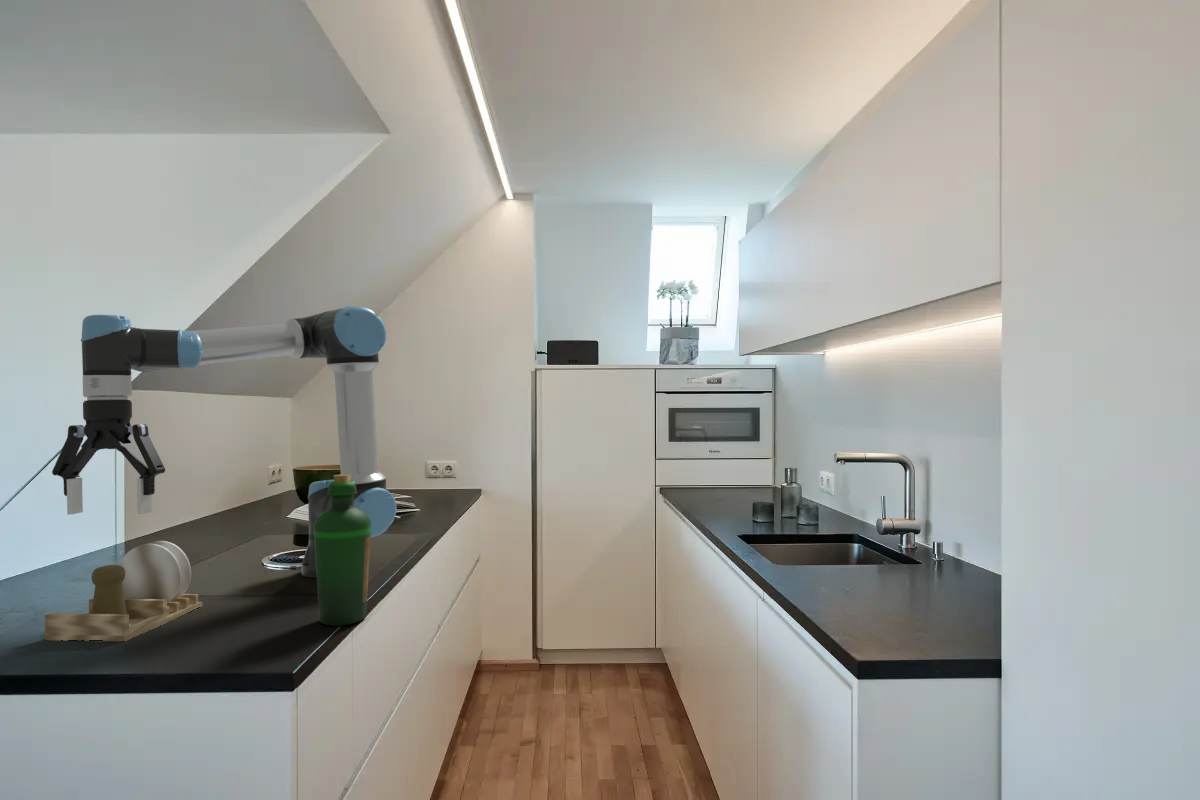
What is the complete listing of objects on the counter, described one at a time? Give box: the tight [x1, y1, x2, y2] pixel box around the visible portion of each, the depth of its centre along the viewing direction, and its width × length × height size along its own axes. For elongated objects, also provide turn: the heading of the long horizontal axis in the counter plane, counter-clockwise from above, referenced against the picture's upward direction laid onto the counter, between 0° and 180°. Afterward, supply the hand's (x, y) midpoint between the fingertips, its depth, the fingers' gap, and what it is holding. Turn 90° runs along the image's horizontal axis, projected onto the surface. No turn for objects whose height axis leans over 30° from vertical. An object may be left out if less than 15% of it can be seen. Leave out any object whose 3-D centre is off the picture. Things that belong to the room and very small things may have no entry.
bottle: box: [313, 474, 372, 627], centre depth 138 cm, size 11×11×28 cm
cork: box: [91, 564, 127, 614], centre depth 133 cm, size 6×6×11 cm
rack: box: [44, 540, 204, 642], centre depth 138 cm, size 15×22×14 cm
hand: (109, 513), depth 133 cm, fingers open, 13 cm apart
